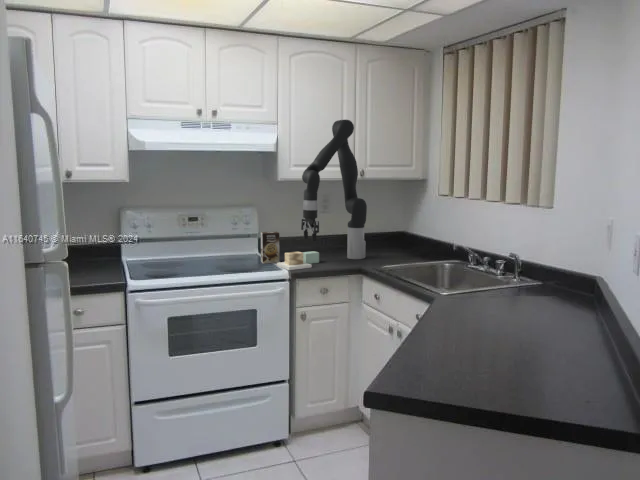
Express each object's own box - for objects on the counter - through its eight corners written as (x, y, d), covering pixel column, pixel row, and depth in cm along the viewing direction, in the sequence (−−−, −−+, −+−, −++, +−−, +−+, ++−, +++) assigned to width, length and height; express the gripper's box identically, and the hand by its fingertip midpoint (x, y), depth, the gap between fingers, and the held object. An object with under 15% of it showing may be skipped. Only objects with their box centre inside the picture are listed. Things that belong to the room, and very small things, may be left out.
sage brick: (314, 261, 284) (314, 251, 283) (319, 262, 280) (319, 252, 279) (301, 262, 280) (301, 252, 279) (305, 264, 276) (305, 253, 275)
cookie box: (262, 264, 275) (262, 233, 273) (260, 261, 282) (260, 231, 279) (279, 263, 278) (279, 232, 275) (277, 260, 284) (277, 231, 282)
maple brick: (298, 262, 273) (298, 251, 272) (303, 263, 269) (303, 253, 268) (284, 263, 269) (284, 252, 268) (289, 265, 265) (289, 254, 264)
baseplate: (298, 263, 278) (298, 260, 278) (311, 267, 267) (311, 264, 267) (276, 265, 271) (276, 262, 271) (288, 270, 260) (288, 267, 260)
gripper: (323, 209, 272) (323, 241, 274) (309, 207, 283) (309, 237, 286) (311, 210, 268) (310, 242, 270) (297, 208, 280) (296, 238, 282)
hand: (309, 239), depth 278 cm, fingers open, 8 cm apart
